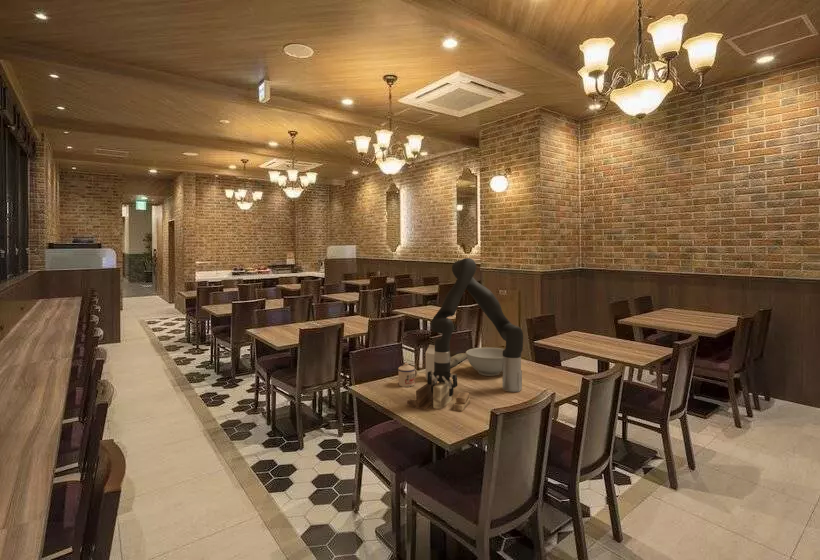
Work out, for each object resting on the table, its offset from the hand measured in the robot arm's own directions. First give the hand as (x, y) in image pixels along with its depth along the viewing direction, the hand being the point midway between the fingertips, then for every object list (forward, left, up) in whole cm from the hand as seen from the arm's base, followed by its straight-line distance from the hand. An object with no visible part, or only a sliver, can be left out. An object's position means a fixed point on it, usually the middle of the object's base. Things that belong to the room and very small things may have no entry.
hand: (442, 394), depth 204 cm
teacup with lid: (+28, -20, -5) cm, 34 cm away
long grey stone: (+21, -72, -5) cm, 75 cm away
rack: (+9, 0, -4) cm, 10 cm away
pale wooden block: (0, 0, -4) cm, 4 cm away
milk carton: (+19, -34, -5) cm, 39 cm away
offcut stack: (-10, 0, -4) cm, 11 cm away
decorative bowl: (-5, -58, -5) cm, 58 cm away
